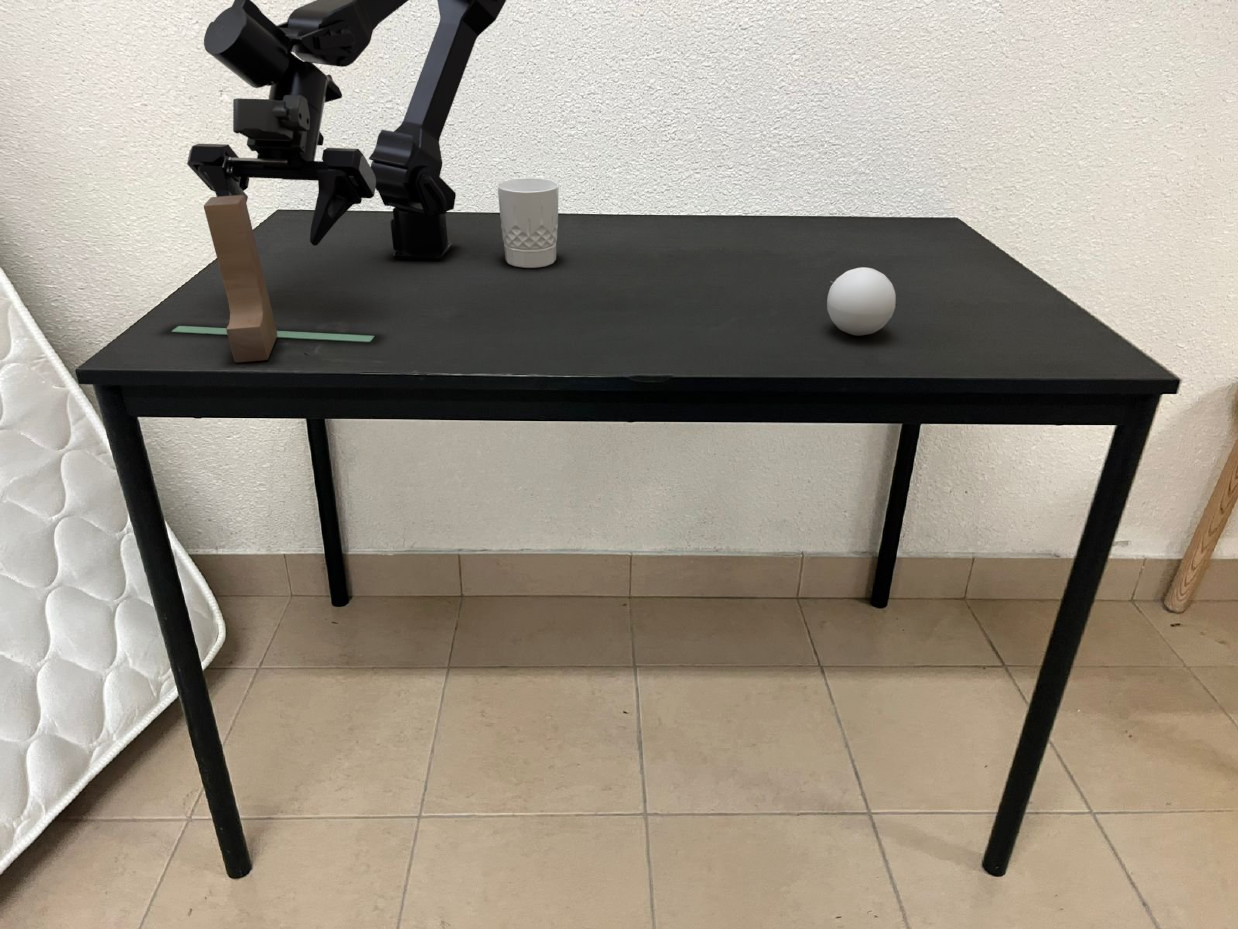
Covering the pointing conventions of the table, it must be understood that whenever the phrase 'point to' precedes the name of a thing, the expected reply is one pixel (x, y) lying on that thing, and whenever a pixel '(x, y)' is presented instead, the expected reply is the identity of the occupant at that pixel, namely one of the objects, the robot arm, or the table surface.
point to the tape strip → (280, 334)
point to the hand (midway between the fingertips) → (271, 241)
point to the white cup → (529, 220)
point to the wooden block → (241, 279)
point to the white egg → (861, 301)
